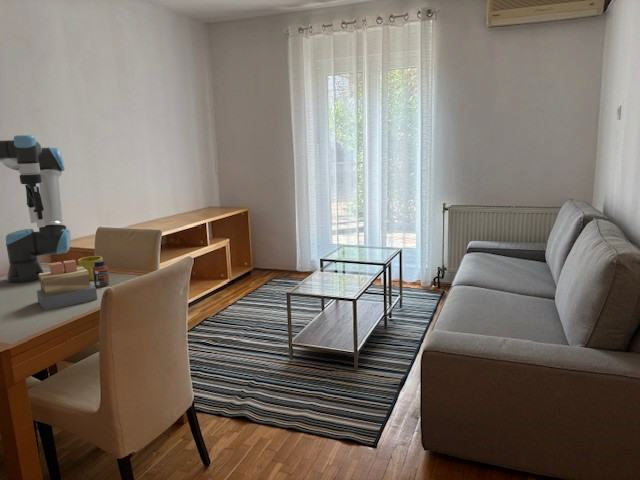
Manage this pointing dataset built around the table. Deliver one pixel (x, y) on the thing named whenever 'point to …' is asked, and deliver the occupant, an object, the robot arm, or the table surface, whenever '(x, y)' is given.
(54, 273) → the crate
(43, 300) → the block
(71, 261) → the crate
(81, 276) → the beige block
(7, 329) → the table surface
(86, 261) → the plant pot
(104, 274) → the supplement bottle
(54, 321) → the table surface
